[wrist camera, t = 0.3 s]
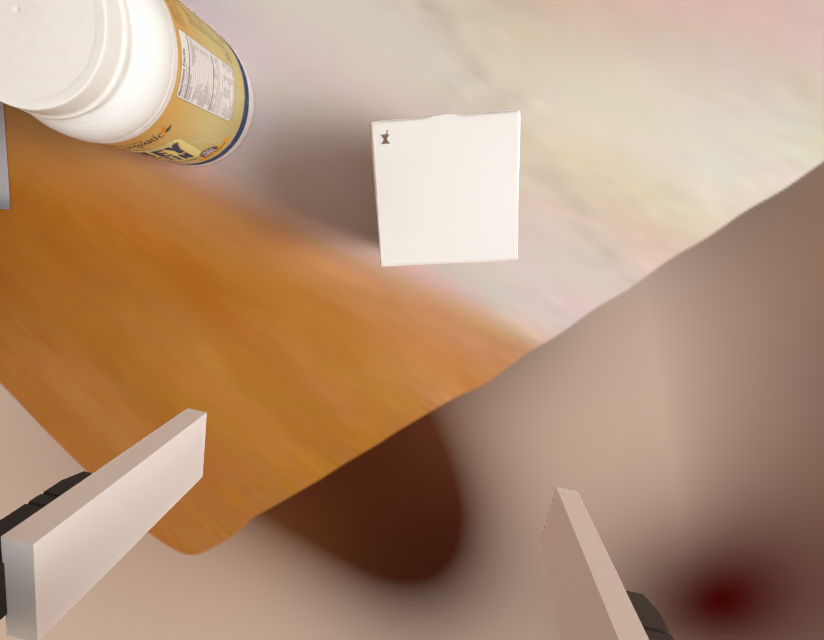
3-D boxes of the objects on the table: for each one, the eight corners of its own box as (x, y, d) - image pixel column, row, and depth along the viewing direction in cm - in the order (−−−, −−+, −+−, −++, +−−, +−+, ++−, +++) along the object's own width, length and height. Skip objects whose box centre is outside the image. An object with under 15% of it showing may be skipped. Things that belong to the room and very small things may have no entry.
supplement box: (401, 254, 41) (374, 269, 26) (396, 158, 39) (364, 116, 24) (495, 250, 40) (521, 263, 25) (494, 152, 38) (522, 104, 23)
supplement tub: (139, 162, 41) (-70, 117, 25) (133, 24, 38) (-105, -130, 22) (258, 174, 40) (125, 136, 24) (261, 34, 38) (113, -117, 21)
